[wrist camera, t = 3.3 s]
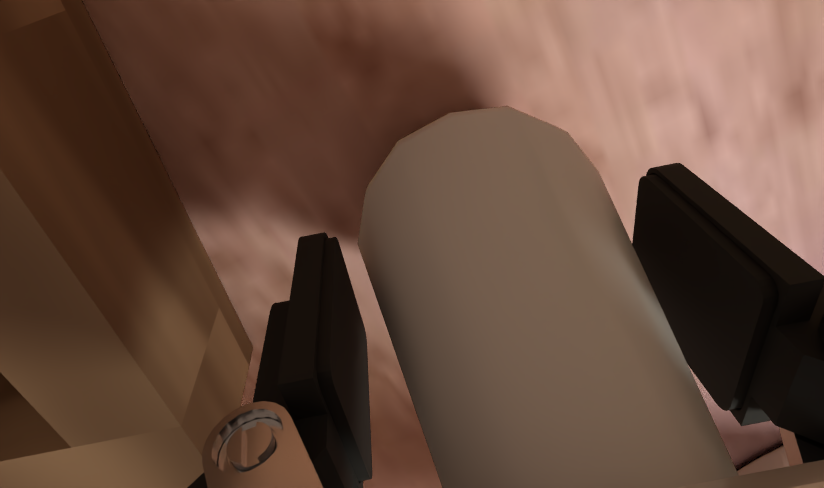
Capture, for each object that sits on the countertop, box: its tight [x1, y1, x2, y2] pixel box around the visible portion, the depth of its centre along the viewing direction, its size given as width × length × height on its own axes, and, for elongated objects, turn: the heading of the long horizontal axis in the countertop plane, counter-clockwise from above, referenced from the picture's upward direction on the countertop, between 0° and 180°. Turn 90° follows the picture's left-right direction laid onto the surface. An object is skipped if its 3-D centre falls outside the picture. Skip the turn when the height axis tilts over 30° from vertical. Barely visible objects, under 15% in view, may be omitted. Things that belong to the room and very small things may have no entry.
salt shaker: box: [358, 106, 739, 488], centre depth 9 cm, size 6×6×13 cm
